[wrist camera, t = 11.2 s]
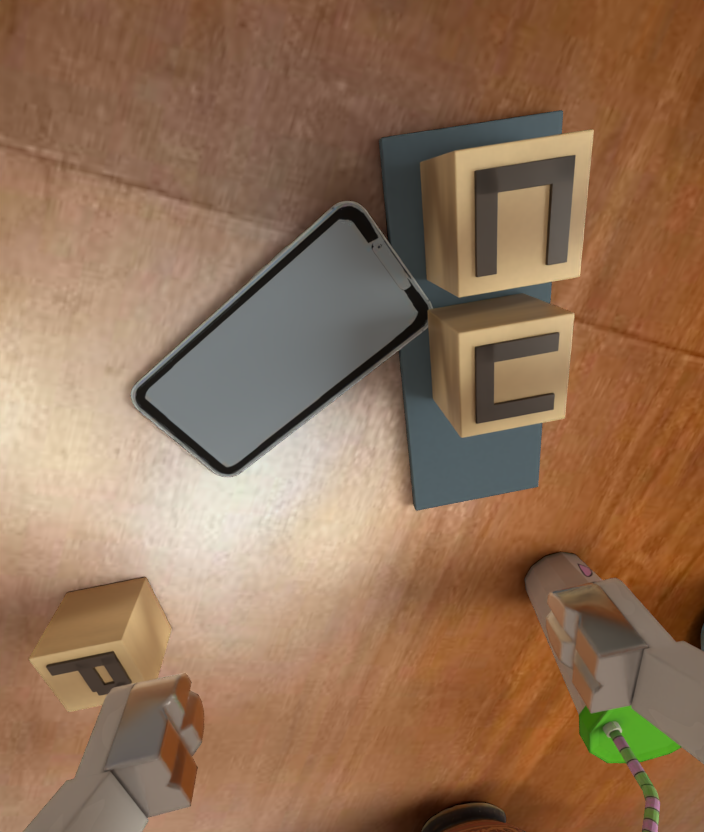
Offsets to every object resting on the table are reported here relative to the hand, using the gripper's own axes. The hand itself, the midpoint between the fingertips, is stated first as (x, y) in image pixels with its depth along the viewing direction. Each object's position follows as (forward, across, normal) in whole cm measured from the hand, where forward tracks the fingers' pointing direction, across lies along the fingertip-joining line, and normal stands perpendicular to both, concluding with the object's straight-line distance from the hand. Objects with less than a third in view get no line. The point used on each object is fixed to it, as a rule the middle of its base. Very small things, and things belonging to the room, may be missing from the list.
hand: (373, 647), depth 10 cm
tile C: (+15, -8, -7) cm, 18 cm away
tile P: (+15, +16, +13) cm, 26 cm away
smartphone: (+16, +2, -2) cm, 16 cm away
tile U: (+15, -8, -1) cm, 17 cm away
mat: (+15, -8, -1) cm, 17 cm away
